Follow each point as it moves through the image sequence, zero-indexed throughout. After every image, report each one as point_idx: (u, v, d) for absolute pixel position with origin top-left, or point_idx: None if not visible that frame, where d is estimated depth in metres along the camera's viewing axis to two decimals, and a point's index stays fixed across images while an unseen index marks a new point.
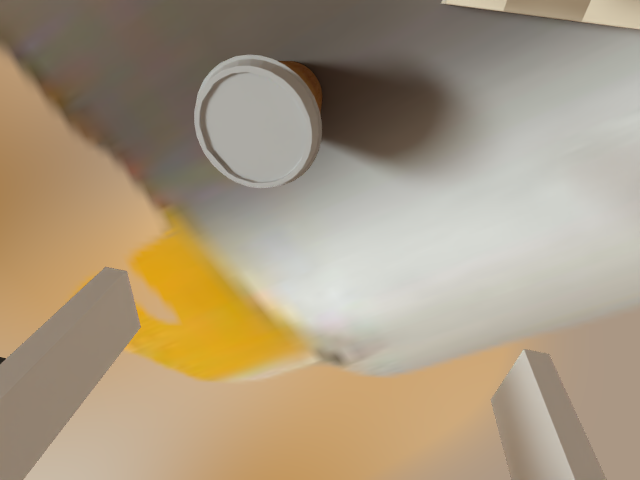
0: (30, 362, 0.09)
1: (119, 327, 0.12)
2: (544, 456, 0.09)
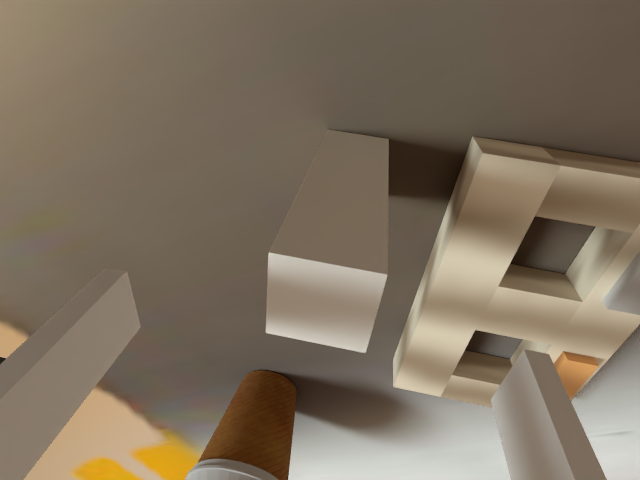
0: (30, 362, 0.09)
1: (119, 327, 0.12)
2: (543, 456, 0.09)
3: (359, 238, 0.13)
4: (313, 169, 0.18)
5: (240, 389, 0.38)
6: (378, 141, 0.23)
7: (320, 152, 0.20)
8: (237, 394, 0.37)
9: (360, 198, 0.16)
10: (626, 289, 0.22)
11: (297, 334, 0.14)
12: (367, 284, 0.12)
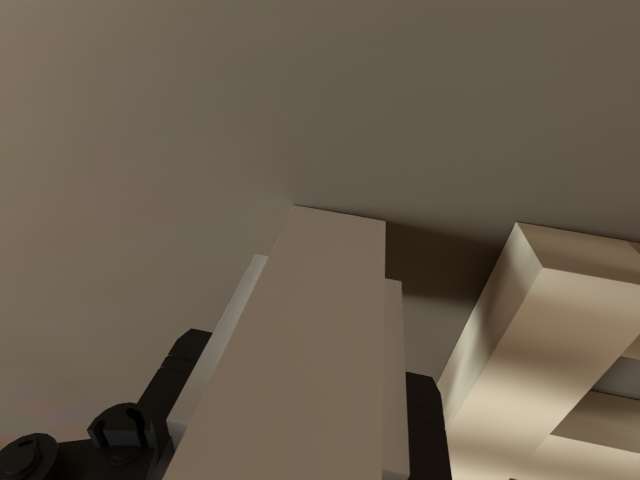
0: None
1: None
2: None
3: None
4: (248, 318, 0.10)
5: None
6: (369, 227, 0.15)
7: (270, 265, 0.12)
8: None
9: (326, 413, 0.08)
10: None
11: None
12: None
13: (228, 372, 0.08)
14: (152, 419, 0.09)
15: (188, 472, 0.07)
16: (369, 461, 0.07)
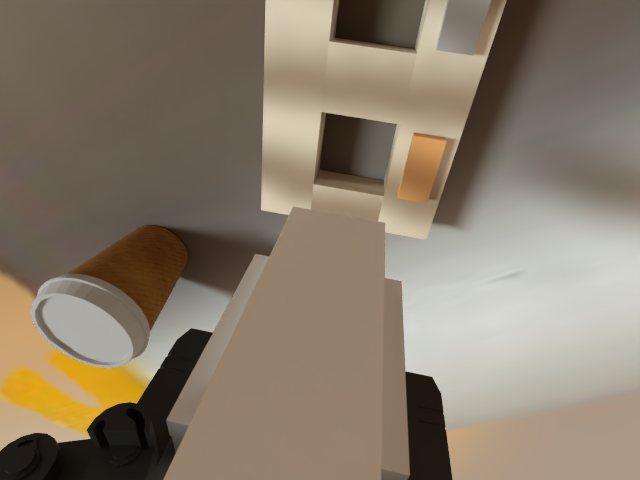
0: None
1: None
2: None
3: None
4: (247, 320, 0.10)
5: None
6: (368, 228, 0.15)
7: (270, 267, 0.12)
8: None
9: (325, 416, 0.08)
10: (448, 16, 0.20)
11: None
12: None
13: (227, 375, 0.08)
14: (152, 419, 0.09)
15: (187, 476, 0.07)
16: (368, 465, 0.07)
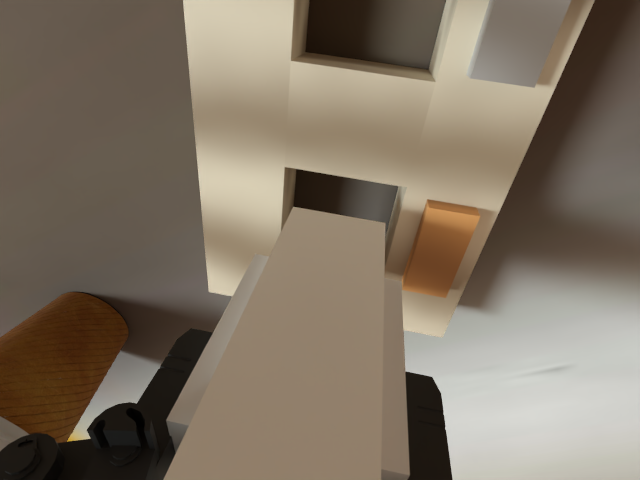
0: None
1: None
2: None
3: None
4: (247, 321, 0.10)
5: None
6: (368, 229, 0.15)
7: (270, 267, 0.12)
8: None
9: (325, 416, 0.08)
10: (494, 20, 0.12)
11: None
12: None
13: (228, 375, 0.08)
14: (152, 419, 0.09)
15: (187, 476, 0.07)
16: (368, 465, 0.07)
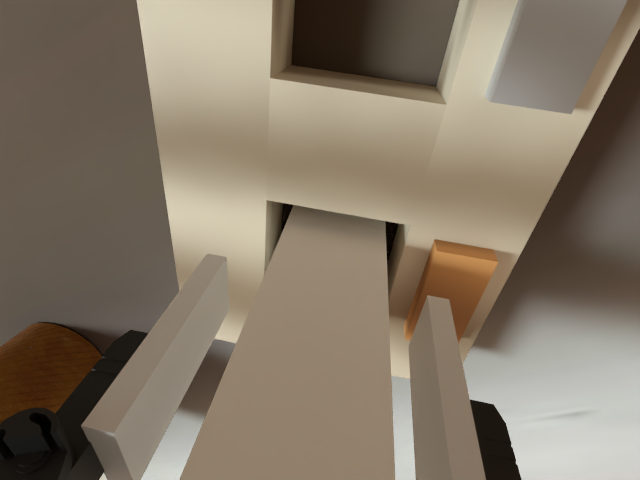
0: (171, 333, 0.10)
1: (218, 308, 0.13)
2: (428, 377, 0.11)
3: None
4: (268, 285, 0.11)
5: None
6: None
7: (283, 241, 0.13)
8: None
9: (342, 358, 0.09)
10: (523, 31, 0.09)
11: None
12: None
13: (255, 327, 0.10)
14: (73, 424, 0.08)
15: (230, 402, 0.08)
16: (381, 393, 0.09)
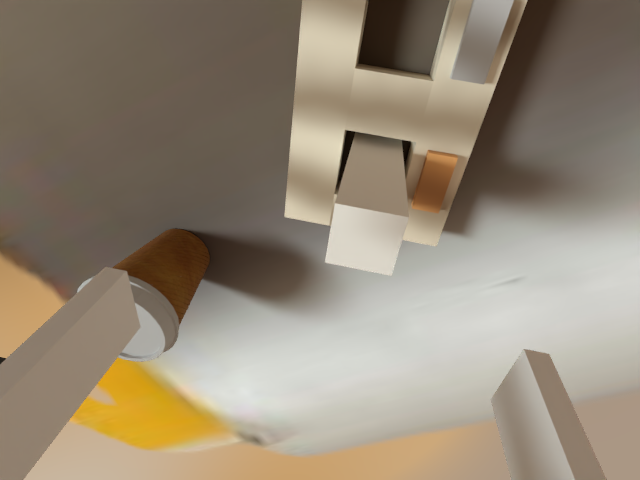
0: (30, 362, 0.09)
1: (119, 327, 0.12)
2: (543, 456, 0.09)
3: (389, 198, 0.21)
4: (351, 158, 0.25)
5: (149, 242, 0.39)
6: (394, 140, 0.30)
7: (353, 147, 0.27)
8: None
9: (386, 176, 0.23)
10: (462, 50, 0.23)
11: (346, 262, 0.21)
12: (395, 224, 0.19)
13: (350, 167, 0.24)
14: None
15: (348, 180, 0.22)
16: (402, 184, 0.23)
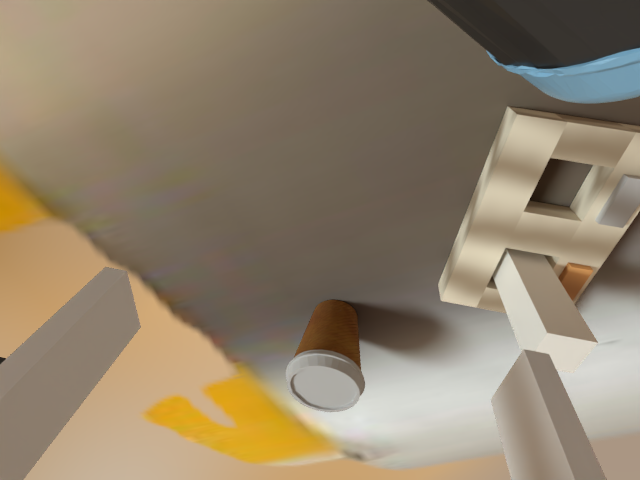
0: (30, 362, 0.09)
1: (119, 327, 0.12)
2: (543, 456, 0.09)
3: (575, 323, 0.31)
4: (522, 277, 0.35)
5: (316, 313, 0.49)
6: None
7: (515, 262, 0.37)
8: (314, 316, 0.48)
9: (557, 297, 0.33)
10: (611, 208, 0.33)
11: None
12: (587, 346, 0.29)
13: (529, 289, 0.34)
14: None
15: (537, 305, 0.32)
16: (572, 305, 0.33)
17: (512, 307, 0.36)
